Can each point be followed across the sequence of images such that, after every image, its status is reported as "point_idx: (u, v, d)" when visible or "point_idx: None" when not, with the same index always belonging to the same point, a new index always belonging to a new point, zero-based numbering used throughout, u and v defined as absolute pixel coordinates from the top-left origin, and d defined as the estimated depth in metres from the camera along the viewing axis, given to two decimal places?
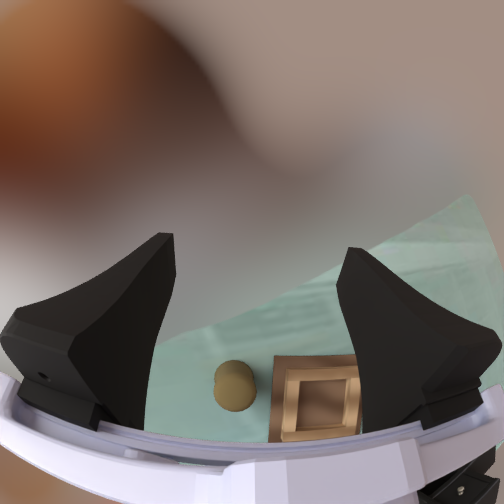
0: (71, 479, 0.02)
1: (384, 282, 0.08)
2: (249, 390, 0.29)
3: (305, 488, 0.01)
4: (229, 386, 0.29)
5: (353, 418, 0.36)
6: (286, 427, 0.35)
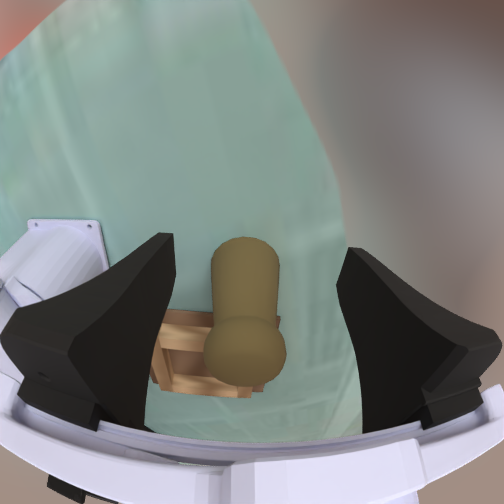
0: (71, 479, 0.02)
1: (384, 282, 0.08)
2: None
3: (305, 488, 0.01)
4: (263, 368, 0.15)
5: (183, 390, 0.32)
6: (166, 340, 0.26)
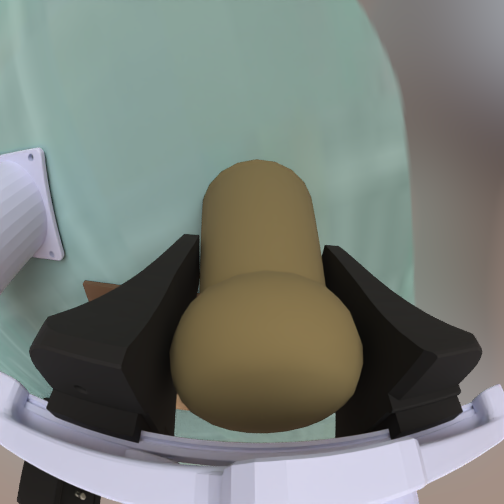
0: (71, 479, 0.02)
1: (356, 281, 0.08)
2: (280, 431, 0.07)
3: (305, 488, 0.01)
4: (318, 402, 0.05)
5: None
6: None
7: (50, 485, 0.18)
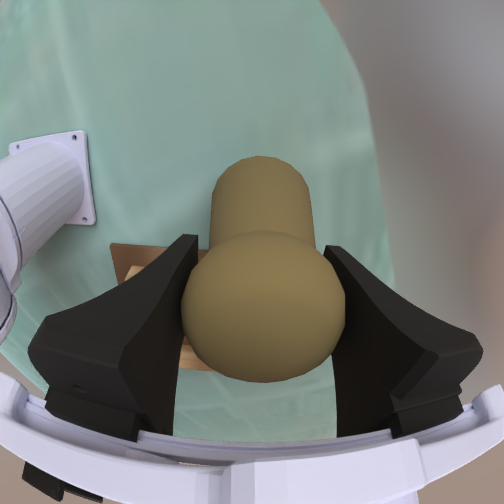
0: (71, 479, 0.02)
1: (357, 281, 0.08)
2: (278, 380, 0.08)
3: (305, 488, 0.01)
4: (305, 337, 0.07)
5: None
6: None
7: None
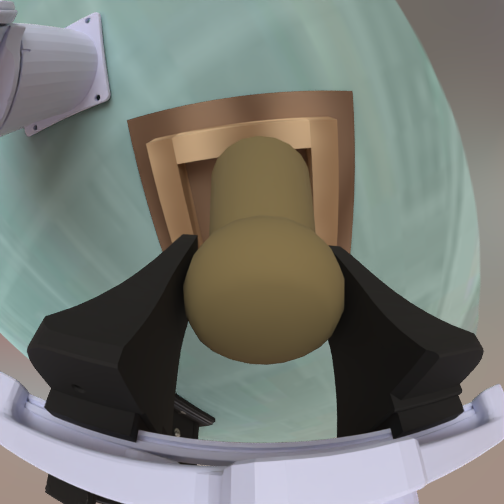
0: (71, 479, 0.02)
1: (357, 281, 0.08)
2: (278, 362, 0.09)
3: (305, 488, 0.01)
4: (305, 321, 0.07)
5: None
6: (185, 140, 0.16)
7: None
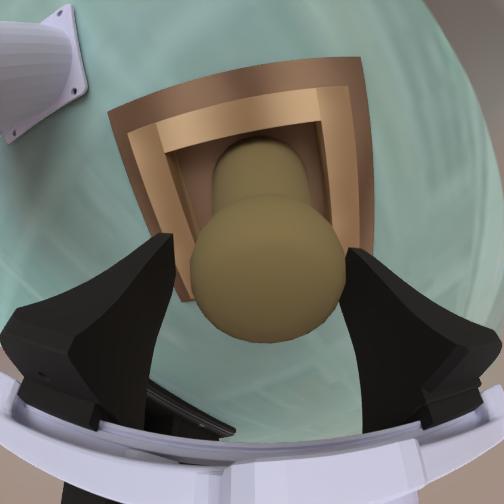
0: (71, 479, 0.02)
1: (384, 282, 0.08)
2: (283, 339, 0.09)
3: (305, 488, 0.01)
4: (309, 288, 0.07)
5: None
6: (171, 124, 0.13)
7: None
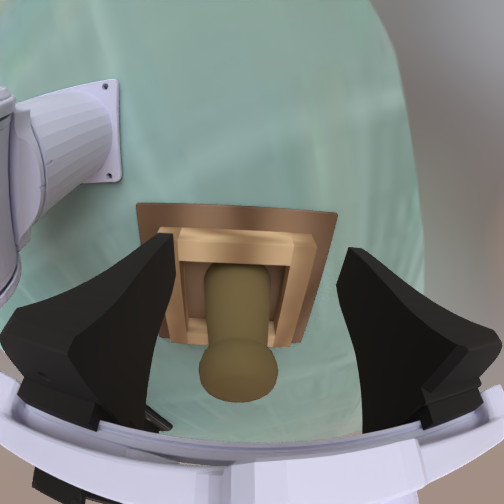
0: (71, 479, 0.02)
1: (384, 282, 0.08)
2: None
3: (305, 488, 0.01)
4: (258, 389, 0.15)
5: (201, 340, 0.26)
6: (188, 245, 0.20)
7: None
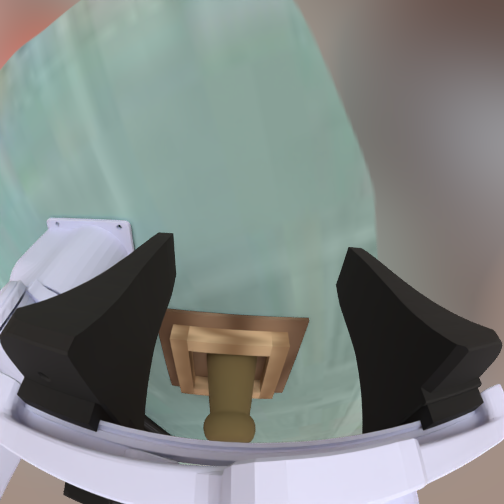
0: (71, 479, 0.02)
1: (384, 282, 0.08)
2: None
3: (305, 488, 0.01)
4: (241, 442, 0.22)
5: (204, 392, 0.33)
6: (195, 343, 0.26)
7: None
